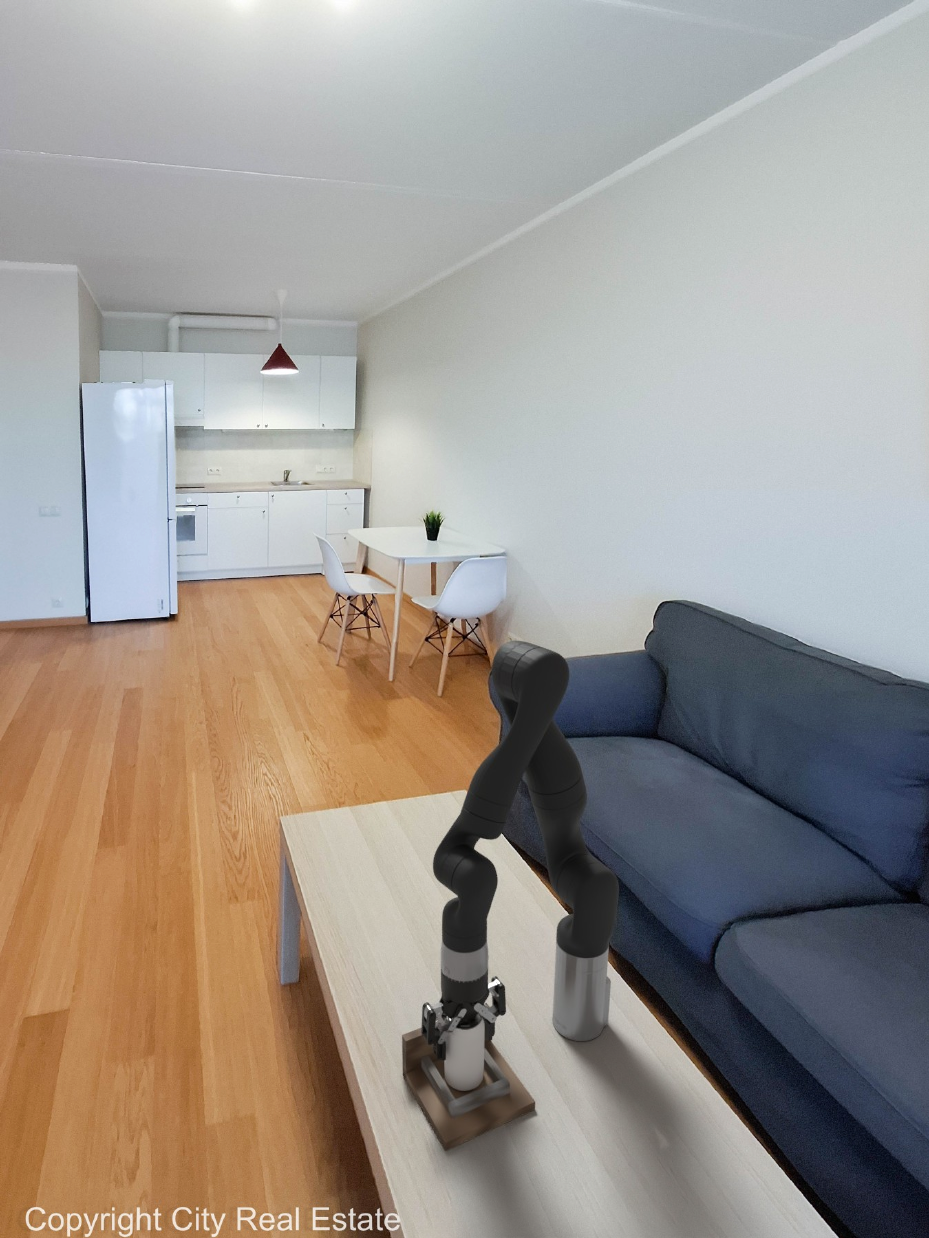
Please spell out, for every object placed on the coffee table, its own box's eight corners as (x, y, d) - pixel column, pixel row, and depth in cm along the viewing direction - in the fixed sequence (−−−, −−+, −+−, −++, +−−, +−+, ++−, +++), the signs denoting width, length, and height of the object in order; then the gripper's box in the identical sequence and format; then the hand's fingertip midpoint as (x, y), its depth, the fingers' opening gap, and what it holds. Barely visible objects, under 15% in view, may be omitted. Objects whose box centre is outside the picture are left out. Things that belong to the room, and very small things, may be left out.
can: (482, 1060, 136) (483, 1000, 133) (484, 1092, 130) (486, 1030, 126) (444, 1061, 136) (444, 1001, 132) (444, 1093, 129) (444, 1031, 126)
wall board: (485, 1040, 142) (486, 1002, 140) (534, 1108, 128) (536, 1068, 126) (402, 1074, 135) (402, 1034, 133) (445, 1150, 121) (445, 1108, 119)
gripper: (491, 935, 133) (490, 1016, 137) (413, 963, 126) (414, 1047, 131) (515, 962, 127) (513, 1047, 131) (434, 993, 120) (435, 1080, 124)
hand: (464, 1047), depth 131 cm, fingers open, 8 cm apart
